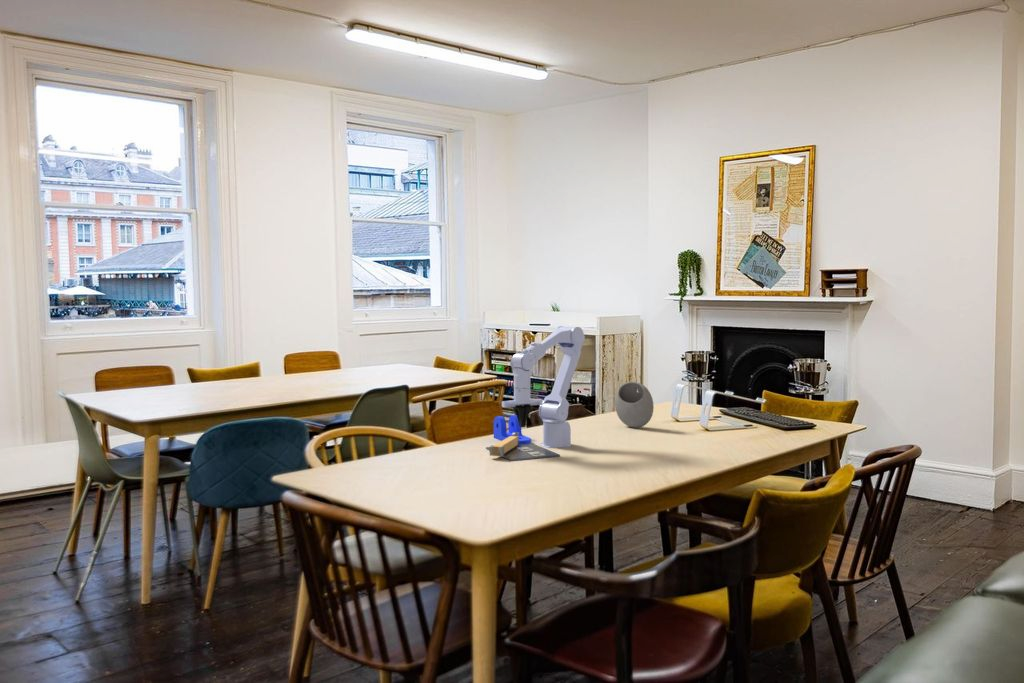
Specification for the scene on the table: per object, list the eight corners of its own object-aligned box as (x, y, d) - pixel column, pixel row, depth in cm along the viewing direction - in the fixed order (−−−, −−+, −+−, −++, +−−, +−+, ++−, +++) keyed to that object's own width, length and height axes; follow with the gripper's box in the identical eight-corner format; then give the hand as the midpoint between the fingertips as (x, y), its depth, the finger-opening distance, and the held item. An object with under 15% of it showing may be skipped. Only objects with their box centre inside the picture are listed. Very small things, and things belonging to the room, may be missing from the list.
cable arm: (508, 444, 293) (507, 435, 293) (519, 445, 292) (519, 436, 291) (489, 455, 274) (489, 446, 274) (502, 456, 273) (502, 447, 272)
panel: (531, 445, 298) (531, 430, 298) (559, 457, 278) (559, 441, 277) (485, 449, 291) (485, 434, 291) (510, 462, 271) (510, 445, 270)
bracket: (493, 438, 313) (493, 415, 312) (513, 437, 317) (513, 413, 316) (514, 447, 297) (514, 422, 296) (534, 445, 300) (534, 420, 300)
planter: (610, 426, 339) (610, 380, 338) (620, 423, 345) (620, 379, 343) (647, 431, 327) (648, 384, 325) (657, 429, 332) (658, 382, 330)
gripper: (536, 385, 292) (536, 423, 293) (498, 387, 286) (498, 426, 287) (544, 387, 286) (544, 426, 287) (506, 390, 280) (506, 429, 281)
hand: (522, 426), depth 287 cm, fingers closed
